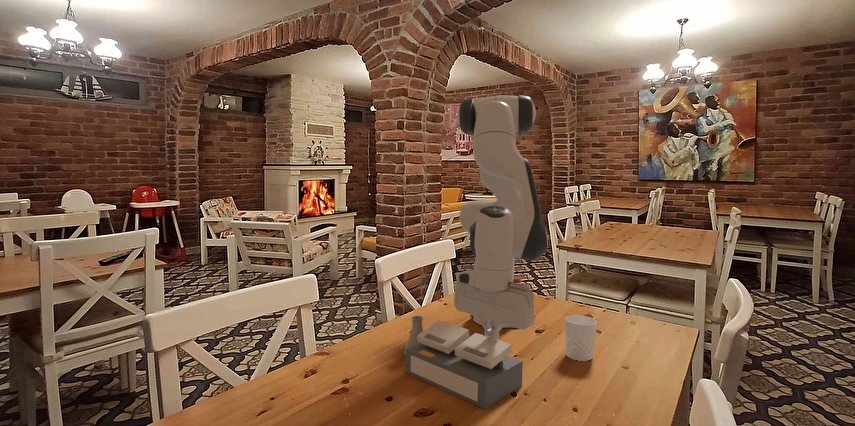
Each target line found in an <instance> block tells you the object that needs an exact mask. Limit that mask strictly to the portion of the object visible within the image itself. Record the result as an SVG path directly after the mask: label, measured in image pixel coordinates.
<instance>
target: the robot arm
mask: <svg viewBox="0 0 855 426" xmlns="http://www.w3.org/2000/svg"><path fill="white" fill-rule="evenodd" d="M536 116H537V112H536V106H535V104H534V102H533V99H532V98H531V97H530V96H529V95H528V96H527V95H521V94H519V95H507V94H506V95H505V94H504V95H502V94H501V95H500V94H498V95H495V96H492V95H491V96H485V97H478V98H474V97H471V98H467V99H464V100H462V102H461V103H460V104H459V109H458V111H457V118H456V119H457V123H458V125H459V129H460V131H461V132H463V134H464V135H468V136H473V138H472V139H473V142H472V149H473V158H474V159H473V160H474V162H475V164H476V165H477V166H478V168H479V181H480V183H481V184H482V186H484V188H486V189H488V190H490V191H491V192H492V193H493V195H494V196H495V198H496V200H489V199H488V200H486V199H485V200H484V199H479V200H471V201H466V202H465V203H464V204H463V205H462V206H461V209H460V211H459V223H460V225H461V227H462V228H463V230H464V231H466V232H467V234H468V235H469V237H470V239H469V249H470V250H471V251H472V253H474V254H475V259H474V263H473V268H472V269H467V270H465V271H464V270H463V271H460V272H458V273H456V275H455V277H456V278H455V280H456V282H457V283H456V284H455V287H454V293H453V294H454V295H453V296H454V298H453V299H454V300H453V303H454V304H453V305H454V308H455V309H456V310H457V311H459V312H461V313H466V314H469V315H472V317H473V318H472V319H473V321H474V322H475V323H476V324H478V325H479V326H482V328H483V330H484V336H485V337H488V338H491V339H494V340H499V339H500V332H501V330H502V329H505V328H507V329H509V328H511V329H520V330H524V331H525V330H527V329H529V328H531V327H533V325H534V324H535V320H536V319H535V317H536V312H535V306H534V305H535V304H534V302H535V299H534V297H535V296H534V292H533V291H532V290H531V289H530V287H529V286H527V285H524V284H521V283H522V278H521V277H517V276H515V259H519V260H524V261H536V260H538V259H540V258H541V257H542V256H543V255H544V254H545V253H546V252H547V250H548V245H549V236H548V232H547V231H548V230H547V227H546V226H545V222H544V219H543V215H542V210H541V205H540V201H539V197H538V196H539V195H538V192H537V191H538V190H537V186H536V182H535V179H534V173H533V170H532V166H531V163H530V162H529V160H528V159H527V158H525V157H523V156H522V154H521V153H520V151H519V150H518V147H517V138H516V137H517V135H516V134H518V137H522V135H523V134H525V133H528V132H529V131H530V130H531V129H532V128H533V125H534V123H535V120H536Z"/></svg>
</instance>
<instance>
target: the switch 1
mask: <svg viewBox="0 0 855 426" xmlns="http://www.w3.org/2000/svg"><path fill="white" fill-rule="evenodd" d="M469 336H471V335H470V330H469V329H468V328H464V327H462V326H458V325H456V324H453V323H449V322H445V321H443V320H440V319H437V320H436V321H434V322H433V323H432V324H430V325H429V326H428V327H426V328H425V329H423V332H421V333H420V334H419V335H417V340H418V342H419V343H421V344H424V345H427V346H429V347H432V348H434V349H437V350H440V351H442V352H445V353H447V354H449V353H451V352H452V351H453V350H454V348H455V347H457V346H458V345H460V344H461V343H462V342H463V341H465V340H466V339H467V338H468V337H469Z"/></svg>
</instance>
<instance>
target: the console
mask: <svg viewBox="0 0 855 426" xmlns="http://www.w3.org/2000/svg"><path fill="white" fill-rule="evenodd" d="M463 342H464V341H463ZM523 362H524V361H523V360H521V359H518V358H515V357H512V356H509V355H507V356H506V357H505V358H504V359H503V360H501V361H500V362H499V363H498V364H497V365H496V366H494V367H493V368H492V369H489V368H487V367H484V366H481V365H479V364H476V363H474V362H471V361H468V360H466V359H463V358H461V357H458V356H455V350H453V351H452V352H451V353H449V354H447V353H445V352H442V351H440V350H437V349H434V348H432V347H429V346H427V345H424V344H421V343H419V344H417V345H414V346H412V347H409V348H407V349H406V356H405V373H406V374H408V375H410V376H412V377H414V378H417V379H418V380H421V381H423V382H425V383H428V384H430V385H432V386H434V387H436V388H438V389H440V390H442V391H445V392H447V393H449V394H451V395H454V396H456V397H457V398H460V399H462V400H464V401H467V402H469V404H470V403H471V404H473V405H475V406H477V407H479V408H482V409H484V410H486V409H488V408H490V407H491V406H493V405H495V404H496V403H497V402H499V401H501V400H502V399H504V398H505V397H507V396H508V395H511V394H513V392H515V391H517V390H518V389H520V388H521V387H523V365H524V364H523Z"/></svg>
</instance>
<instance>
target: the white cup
mask: <svg viewBox="0 0 855 426" xmlns="http://www.w3.org/2000/svg"><path fill="white" fill-rule="evenodd" d="M564 319H565V320H564V321H565V353H566V357H568V358H569V359H570V360H573V361H576V360H577V361H578V362H589V361H588V360H590V361H591V359H593V358H594V350H595V346H596V345H595V343H596V336H597V335H596V334H597V327H598V326H597V325H598V324H597V323H598V321H597V320H596V319H595V318H593V317H590V316H587V315H578V314H575V315H574V314H572V315H567V316H565V318H564Z"/></svg>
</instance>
